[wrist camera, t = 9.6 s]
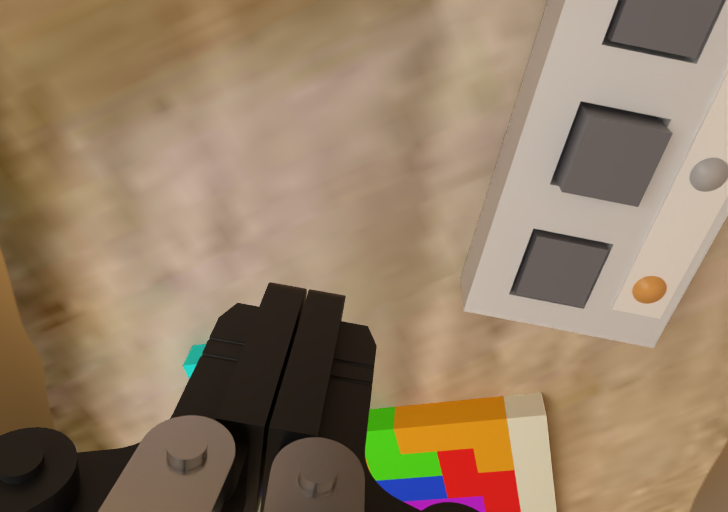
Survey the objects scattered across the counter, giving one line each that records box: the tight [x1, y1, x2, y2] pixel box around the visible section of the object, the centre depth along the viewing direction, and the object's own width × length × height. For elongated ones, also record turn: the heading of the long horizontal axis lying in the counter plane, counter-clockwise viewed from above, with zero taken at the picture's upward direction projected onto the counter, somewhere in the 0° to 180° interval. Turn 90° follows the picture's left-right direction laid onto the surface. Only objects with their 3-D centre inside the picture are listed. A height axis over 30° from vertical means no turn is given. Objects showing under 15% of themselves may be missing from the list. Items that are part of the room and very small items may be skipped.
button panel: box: [461, 0, 728, 348], centre depth 36 cm, size 25×13×4 cm, turn 170°
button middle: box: [554, 101, 673, 207], centre depth 34 cm, size 4×4×3 cm
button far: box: [513, 228, 608, 307], centre depth 40 cm, size 4×4×3 cm
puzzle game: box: [183, 344, 557, 512], centre depth 54 cm, size 30×3×30 cm
